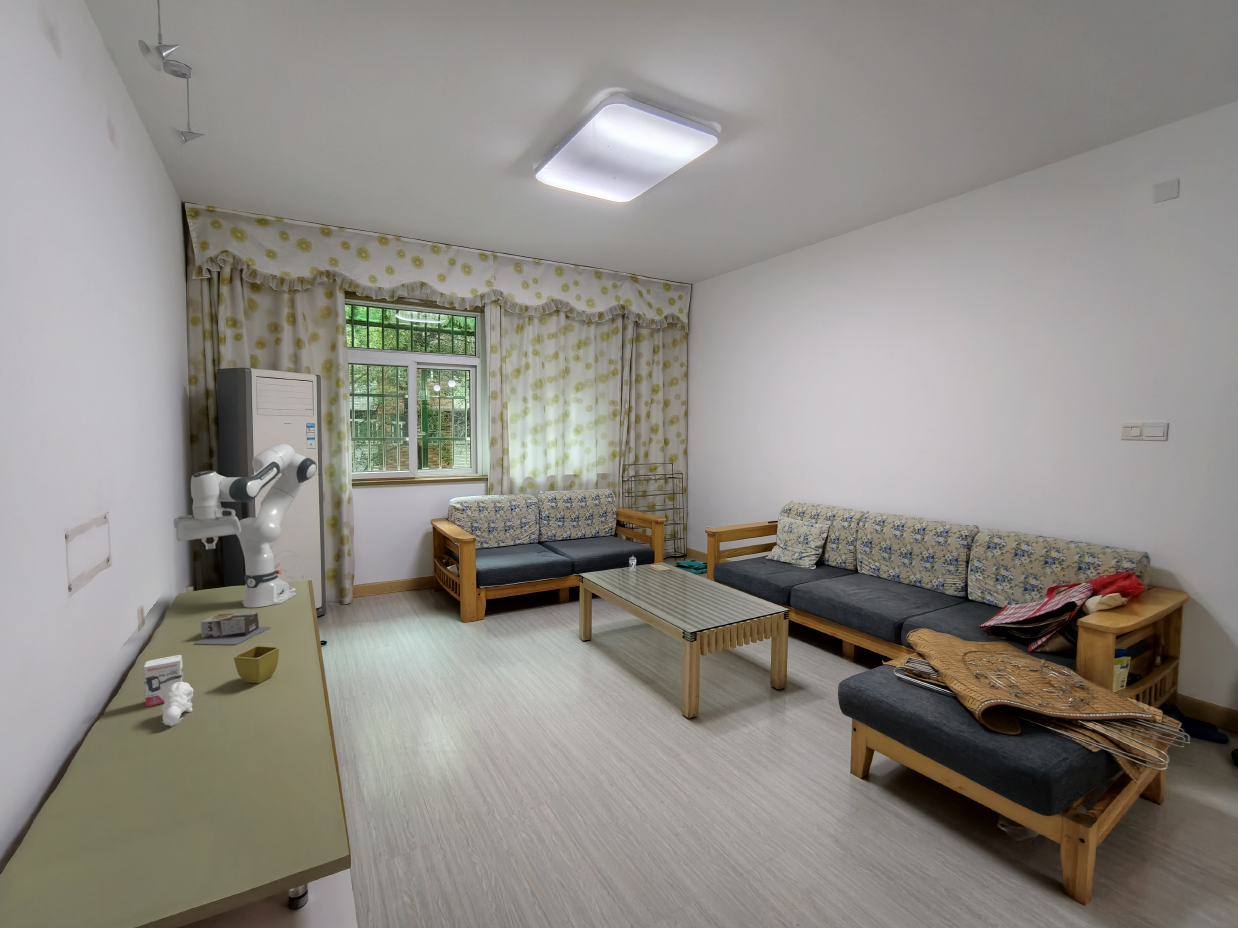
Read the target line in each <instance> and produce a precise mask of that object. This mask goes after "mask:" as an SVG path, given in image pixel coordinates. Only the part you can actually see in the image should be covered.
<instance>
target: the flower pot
mask: <svg viewBox="0 0 1238 928" xmlns="http://www.w3.org/2000/svg"><path fill="white" fill-rule="evenodd" d="M279 655H280V647H278V646H264V645H256V646H253V647H251V648H249V649H246V651H243V652H241V653H239V654H236V655H234V656H233V660H234V664H235V668H236V672H237V674H238V675H239V678H241V680H243V681H244V682H245V683H252V684H260V683H262V682H264V681H266V680H268V679H269V678H271V677H272V676H273V675H274V673H275V671H276V669H277V667H278V665H279V664H278V663H279Z"/></svg>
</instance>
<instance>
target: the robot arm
mask: <svg viewBox="0 0 1238 928" xmlns="http://www.w3.org/2000/svg"><path fill="white" fill-rule="evenodd" d="M251 464H252V465H251V466H252V470H253V471H254V474H252V475H251V476H241V477H240V476H238V477H232V476H231V477H230V476H229V477H226V476H224V475H220V474H219V473H217V472H216V471H215V470H203V471H198V472H196V473H195V472H194V474H193V475H192V476H191V480H190V494H191V495H190V496H191V498H192V502H193V503H192V514H189V515H180V516H178V517H175V518H174V520H173V526H174V528H175V529H176V530H175V531H176V532H175V535H176V536H175V538H176V540H177V541H178V542H184V541H194V540H198V539H199V540H201V542H202V543H203V544H204V545H205V550H212V549H216V544H217V542H218V540H219V537H225V536H230V535H231V536H232V535H236V536H237V538H238V540H239V543H240V546H241V550H242V553H243V557H244V558H243V559H244V566H245V567H244V568H245V574H244V583H245V585H244V590H243V600H241V601H242V602H241V603H242V605H243V607H244V608H249V609H250V608H261V607H267V606H268V607H269V606H273V605H279V604H280V605H281V604H282V603H285V602H286V601H287V600H290V598H293V597H294V596H296V594H297V593H296V592H295V591H291V589H290V585H289V583H288V582H286V581H285V580H283V579H282V578H279V576H278V575H281V574H282V573H283V572H282V571H283V570H282V569H276V570H275V555H274V552H273V551H272V549H271V547H270V545H269V544H270V543H274V542H276V541H277V540H279V538H280V536H281V534H282V527H281V526H282V523H283V519H284V517H285V515H286V513H287V512H288V509H289V508H290V506H291V505H292V503H293V502H294V501H295V499H296V498H297V496H298V494H299V492H300V490H301V487H302V485H303V484H304V483H305V482H306V481H308V480H309V481H310V479H312V478H313V476H315V474H316V472H317V468H318V467H317V466H318V465H317V462H316V461H315V460H313V459H312V458H310V457H307V456H304V455H303V454H300V453H297V452H295V449H294V448H293V447H292V446H291V445H290V444H287V443H278V444H275V445H272V446H270V447H268V448H266V449H264V450H262V451H260V452H259V453H257V454H256V455H255V456H254V457H253V458H252V461H251ZM280 474H281V475H280ZM279 475H280V476H279ZM278 476H279V477H278ZM277 477H278V478H277ZM276 478H277V479H276ZM275 479H276V480H275ZM273 480H275V481H274V483H273V484H272V485H271V487H270V488H269V489H268V490H267V493H266V494H265V496H264V497H263V499H262V500H261V501H260V509H259V512H258V514H257V515H256V517H254V516H253V517H251V516H250V517H246V518H242V519H240V520H239V518H238V517H237V516H236V510H235V509H233V508H228V507H222V504H221V502H238V503H239V502H240V503H251V502H252V501H253V500H255V499H256V498H257V497H258V495H259V493H261V491H262V490H263V489H264V488H265V487H266V486H267V485H268V484H270V483H271V482H272V481H273ZM207 538H213V542H212V543H207Z"/></svg>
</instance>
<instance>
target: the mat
mask: <svg viewBox="0 0 1238 928" xmlns="http://www.w3.org/2000/svg"><path fill="white" fill-rule="evenodd" d="M271 628H272V626H259V628H258V629H256V630H254V631H253V632H251V633H249V634H248V635H246V636H223V637H204V638H202V639H201V640H198V641H196V642H194V643H193V645H198V646H201V645H202V646H237V645H239V644H241V643H244V642H246V641H247V640H250V639H251V638H254V637H255V636H258V635H260V634H262V633H264V632H266V631H267V630H270V629H271Z"/></svg>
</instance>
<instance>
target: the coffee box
mask: <svg viewBox="0 0 1238 928" xmlns="http://www.w3.org/2000/svg"><path fill="white" fill-rule="evenodd" d="M259 624H260V623H259V615H258V612H248V613H246V612H245V613H243V612H241V613H226V614H225V613H223V614H222V613H221V614H214V615H211V616H210V617H208V618H206V619H204V620H201V621H200V631H201V638H207V637H223V636H246V635H248V634H249V633H251V632H253V631H254V630H256V629H258V628H259V627H260V625H259Z"/></svg>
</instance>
